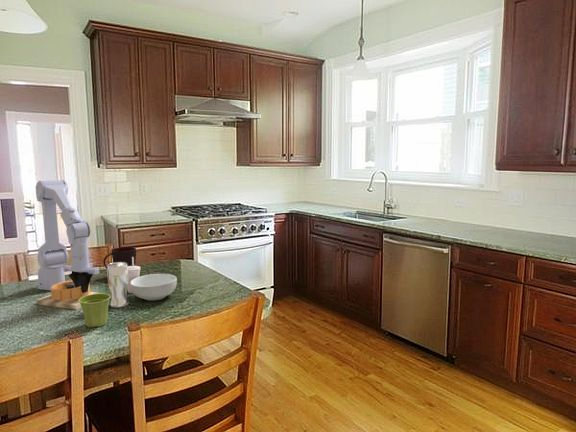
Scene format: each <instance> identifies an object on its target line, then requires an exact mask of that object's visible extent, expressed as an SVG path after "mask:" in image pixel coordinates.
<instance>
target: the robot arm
mask: <svg viewBox="0 0 576 432" xmlns="http://www.w3.org/2000/svg"><path fill="white" fill-rule="evenodd" d="M68 192H69V185H68V182H67V181H66V180H65V179H60V180H38V181H37V182H36V185H35V195H36V201H37V202H40V203H41V209H42V219H43V229H44V241H45V242H44V243H43V244H42V245H40V246H39V248H38V249H37V263H38V265H39V269H38V271H37V280H38V281H37V282H38V287H36V289H37V290H41V291H42V290H45V291H50V292H51V287H52V286H53V285H55V284H57V283H61V282H65V281H66V278H65V277H66V276H65V275H66V274H65V273H66V272H70V273H69V274H68V277H69V279H71V280H72V281H73V283H74V285H75V287H76V288H77V287H80V286H81V290H82V293H85V292H87V291H88V287H89V283H91V281H92V277H94V276H95V275H99V274H100V269H99V268H97V267H95V266H91V264H90V255H89V254H90V253H89V239H88V238H89V237H90V236H91V228H90V224H89V223H88V221H85V219H84V220H83V219H82V217H81V215H80V214H79V211H78V210H77V208H75V207H72V205H71V202H70V200H69V197H68V194H69V193H68ZM57 206H58V208H59V210H60V211H61V212H60V213H59V214H60V218H61V219H62V221H63V223H64V225H65V227H66V230H65V231H66V235H67V236H66V237H67V239H68V244H69V245H70V257H71V265H70V264H67V263H68V261H69V252H68V250H67V246H66V245H65V244H63V243H62V242H60V236H59V235H60V234H59V223H58V213H57Z"/></svg>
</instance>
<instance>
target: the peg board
mask: <svg viewBox="0 0 576 432" xmlns="http://www.w3.org/2000/svg"><path fill="white" fill-rule="evenodd" d="M74 286H75V285H74V283H67V284H65V287H67V289H72V288H74ZM100 293H101V292H98V291H90V293H89V294H88V295H91V294H100ZM102 293H103V294H105V293H104V292H102ZM85 296H87V295H85ZM83 297H84V296H83ZM80 298H81V297H80ZM80 298H76V299H71V300H55V299H53V298H52V297H51V294H49V295H46V296H43V297H41V298H38V299H36V300H35V303H36V305H40V306H41V305H42V306H48V307H56V308H62V309H67V310H68V309H69V310H79V309H80V308H81V309H82V306H81V304H80V303H79V301H78V300H79V299H80Z"/></svg>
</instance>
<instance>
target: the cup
mask: <svg viewBox="0 0 576 432" xmlns="http://www.w3.org/2000/svg"><path fill="white" fill-rule="evenodd" d="M110 256H111V257H112V263H115V262H125V263H127V267H128V266H132V257H134V266H136V262H137V248H136V247H134V246H121V247H115V248H112V249H111V252H110V253H108V254H107V255H106V256H104V258H103V261H102V262H103V266H104V267H105V268H106V270H107V269H108V266H107V264H106V260H107V259H108V258H109V257H110Z"/></svg>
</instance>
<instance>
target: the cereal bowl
mask: <svg viewBox="0 0 576 432" xmlns="http://www.w3.org/2000/svg"><path fill="white" fill-rule="evenodd" d="M177 284H178V278H177V276H176V275H174V274H169V273H150V274H145V275H141V276H140V275H139V277H137V278H135V279H133V280H132V281H131V282H130V286H131V290H132V292H133V293H132V294H133V295H134V296H135V297H137V298H140V299H144V300H145V301H160V300H163V299H165V298H166V297H167V296H170V295H171V294H172V293H173V292H175V290H176V288H177Z"/></svg>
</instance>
